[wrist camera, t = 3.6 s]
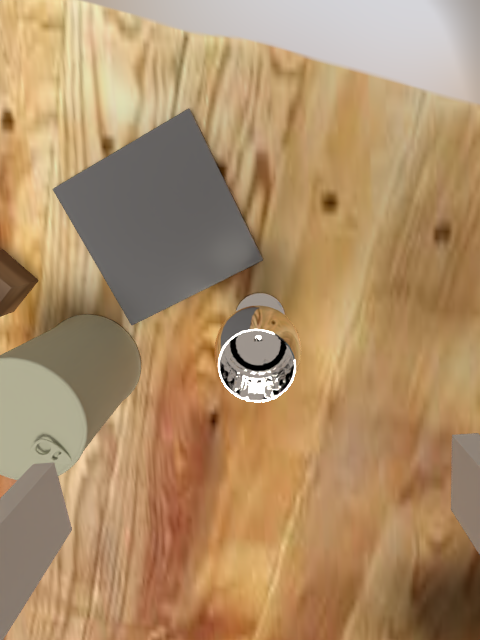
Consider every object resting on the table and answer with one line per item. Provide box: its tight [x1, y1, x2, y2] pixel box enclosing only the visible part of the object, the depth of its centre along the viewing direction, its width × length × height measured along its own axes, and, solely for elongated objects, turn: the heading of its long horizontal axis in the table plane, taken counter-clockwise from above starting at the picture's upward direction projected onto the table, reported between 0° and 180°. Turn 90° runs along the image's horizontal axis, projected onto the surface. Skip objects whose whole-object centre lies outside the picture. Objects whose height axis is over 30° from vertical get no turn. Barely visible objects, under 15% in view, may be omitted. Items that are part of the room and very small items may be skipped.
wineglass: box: [215, 293, 301, 402], centre depth 29 cm, size 6×6×12 cm
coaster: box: [53, 109, 263, 325], centre depth 33 cm, size 13×13×1 cm
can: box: [0, 314, 141, 480], centre depth 31 cm, size 9×9×12 cm
